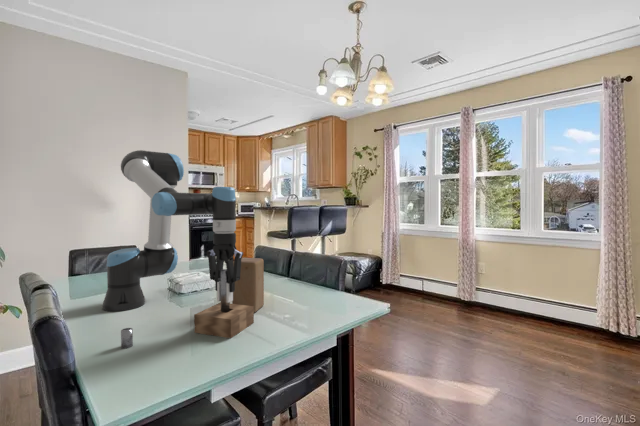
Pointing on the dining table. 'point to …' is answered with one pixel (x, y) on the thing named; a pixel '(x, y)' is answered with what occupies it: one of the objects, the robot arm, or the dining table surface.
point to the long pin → (224, 291)
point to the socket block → (224, 320)
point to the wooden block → (250, 283)
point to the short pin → (126, 338)
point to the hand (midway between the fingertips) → (225, 300)
